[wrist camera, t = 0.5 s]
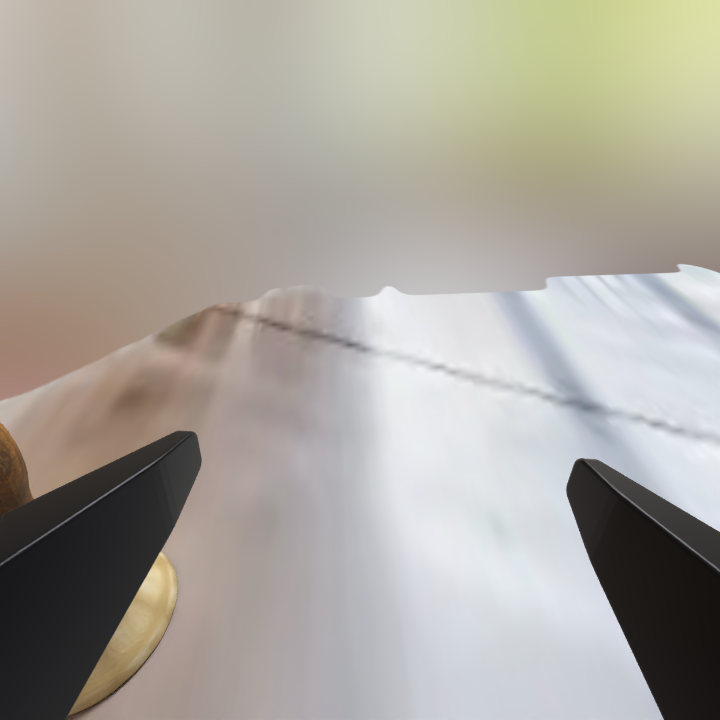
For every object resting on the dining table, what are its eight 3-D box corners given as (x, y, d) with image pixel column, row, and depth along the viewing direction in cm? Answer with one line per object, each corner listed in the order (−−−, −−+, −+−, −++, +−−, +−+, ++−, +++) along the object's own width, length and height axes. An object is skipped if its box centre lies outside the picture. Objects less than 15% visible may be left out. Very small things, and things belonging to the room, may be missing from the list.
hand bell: (-29, 769, 15) (-478, 550, 7) (21, 584, 21) (-181, 353, 13) (184, 660, 18) (53, 424, 10) (174, 527, 25) (88, 315, 16)
